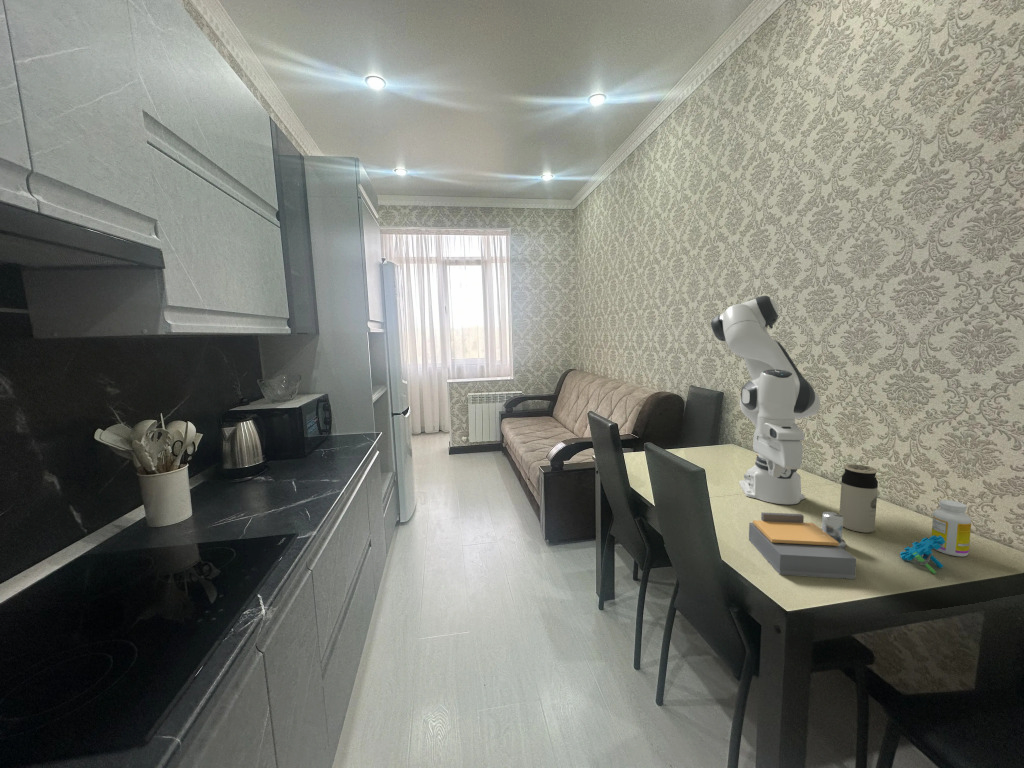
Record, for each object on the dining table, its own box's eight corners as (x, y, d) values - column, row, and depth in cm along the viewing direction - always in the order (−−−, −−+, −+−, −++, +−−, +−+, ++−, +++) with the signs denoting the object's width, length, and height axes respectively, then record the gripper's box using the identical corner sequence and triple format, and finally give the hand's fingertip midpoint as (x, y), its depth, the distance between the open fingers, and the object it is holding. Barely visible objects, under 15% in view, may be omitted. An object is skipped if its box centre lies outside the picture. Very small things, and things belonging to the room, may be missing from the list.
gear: (902, 542, 105) (943, 528, 98) (924, 563, 102) (968, 550, 95) (891, 562, 99) (934, 547, 92) (914, 585, 96) (960, 572, 89)
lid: (751, 521, 111) (751, 512, 110) (810, 524, 108) (811, 514, 108) (771, 542, 99) (772, 531, 99) (838, 545, 97) (839, 534, 97)
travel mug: (832, 523, 120) (835, 465, 118) (850, 519, 122) (854, 462, 120) (862, 535, 112) (866, 473, 111) (881, 530, 115) (885, 470, 113)
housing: (748, 539, 111) (749, 522, 111) (811, 542, 109) (812, 525, 108) (779, 574, 95) (780, 554, 94) (854, 579, 92) (856, 558, 92)
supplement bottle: (968, 551, 103) (972, 503, 102) (968, 560, 99) (973, 510, 97) (930, 542, 108) (934, 496, 107) (929, 550, 104) (933, 503, 102)
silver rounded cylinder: (812, 537, 112) (813, 510, 111) (836, 538, 111) (837, 510, 110) (825, 548, 106) (827, 519, 105) (850, 549, 105) (852, 520, 104)
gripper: (747, 421, 123) (746, 465, 124) (781, 435, 102) (779, 487, 104) (770, 421, 122) (768, 465, 123) (808, 435, 101) (806, 488, 103)
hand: (774, 475), depth 113 cm, fingers closed
